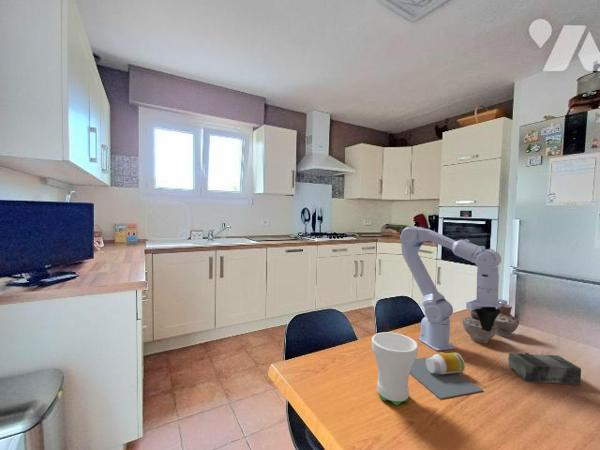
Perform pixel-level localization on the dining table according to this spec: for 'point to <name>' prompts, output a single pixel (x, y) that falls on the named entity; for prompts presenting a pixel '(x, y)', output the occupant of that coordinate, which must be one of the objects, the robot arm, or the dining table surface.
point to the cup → (394, 364)
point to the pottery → (500, 327)
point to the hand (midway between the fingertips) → (486, 330)
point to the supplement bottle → (445, 363)
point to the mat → (442, 381)
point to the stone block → (545, 369)
